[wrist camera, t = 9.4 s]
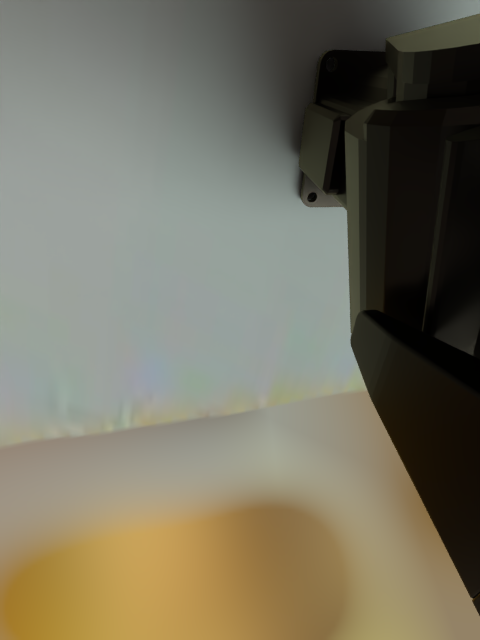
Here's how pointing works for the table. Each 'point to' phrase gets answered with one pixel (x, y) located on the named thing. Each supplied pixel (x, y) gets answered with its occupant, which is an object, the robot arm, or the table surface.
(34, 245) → the table surface
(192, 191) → the table surface
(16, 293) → the table surface
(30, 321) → the table surface
